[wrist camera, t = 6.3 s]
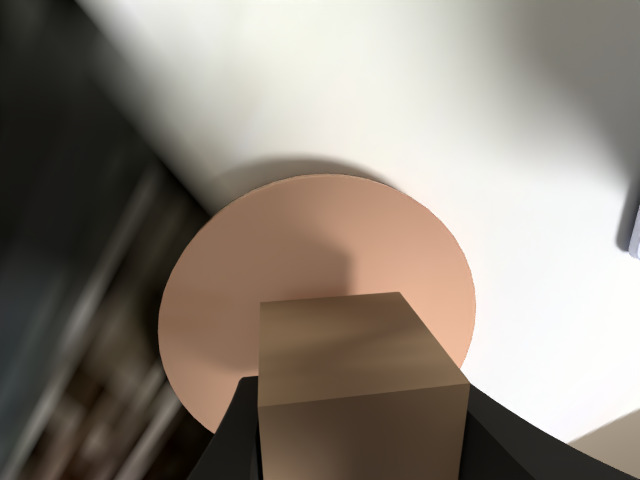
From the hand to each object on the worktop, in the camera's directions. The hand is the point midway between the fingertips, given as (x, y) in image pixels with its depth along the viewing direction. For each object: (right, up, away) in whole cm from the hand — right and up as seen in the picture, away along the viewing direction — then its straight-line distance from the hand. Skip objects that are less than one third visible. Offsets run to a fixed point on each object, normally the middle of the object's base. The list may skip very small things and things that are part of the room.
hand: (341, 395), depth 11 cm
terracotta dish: (-1, +1, +4) cm, 4 cm away
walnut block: (0, +1, +1) cm, 2 cm away
